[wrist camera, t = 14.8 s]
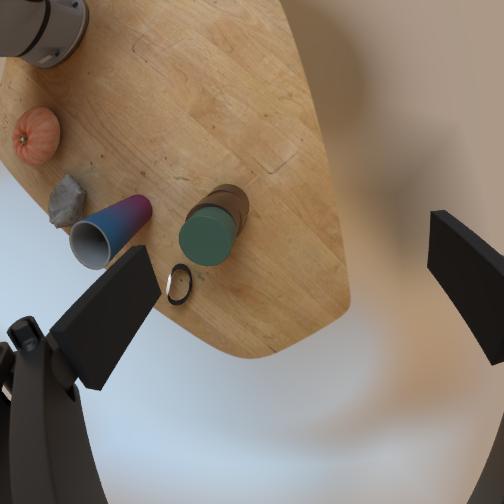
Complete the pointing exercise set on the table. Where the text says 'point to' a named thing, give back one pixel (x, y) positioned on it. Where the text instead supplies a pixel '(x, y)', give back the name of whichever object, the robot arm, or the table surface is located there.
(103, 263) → the cup
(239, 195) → the brown jar
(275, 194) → the table surface
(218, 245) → the green cylinder
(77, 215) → the fossil
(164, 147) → the table surface
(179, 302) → the watch
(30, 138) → the tomato
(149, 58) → the table surface
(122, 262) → the robot arm
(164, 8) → the table surface
